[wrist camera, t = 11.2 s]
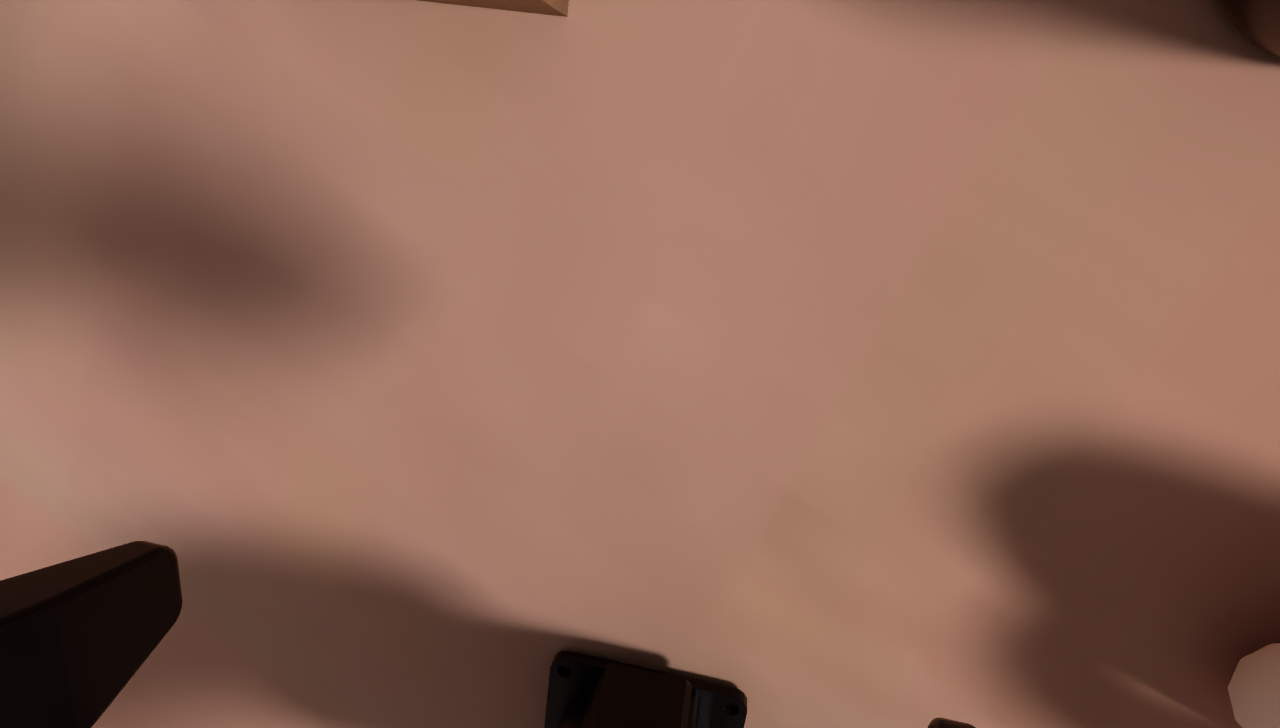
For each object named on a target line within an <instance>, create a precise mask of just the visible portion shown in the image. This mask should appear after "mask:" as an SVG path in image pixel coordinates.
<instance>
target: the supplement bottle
mask: <svg viewBox="0 0 1280 728" xmlns="http://www.w3.org/2000/svg"><path fill="white" fill-rule="evenodd" d="M1219 1H1220V3H1221V5H1222V7H1223V8H1224V10H1225V12H1226V13H1227V15H1228V16H1229V18H1230V19H1231V20H1232V21H1233V23H1234V24H1235V25H1236V26H1237V28H1238V29H1239V30H1240V31H1241V32H1242V33H1244V34H1245V35H1246V36H1247V37H1248V38H1249V39H1250V40H1251V41H1253V42H1254V43H1256V44H1257V45H1258V46H1260V47H1261V48H1263V49H1265V50H1267V51H1268V52H1270V53H1272V54H1274V55H1276V56H1278V57H1280V0H1219Z"/></svg>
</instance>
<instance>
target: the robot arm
mask: <svg viewBox="0 0 1280 728" xmlns="http://www.w3.org/2000/svg"><path fill="white" fill-rule="evenodd" d="M181 608H182V592H181V584H180V576H179V568H178V560H177V555H176V553H175V552H174V551H173V549H171V548H170V547H168V546H164V545H159V544H155V543H150V542H146V541H135V542H131V543H128V544H124V545H121V546H117V547H114V548H111V549H107V550H104V551H100V552H97V553H93V554H90V555H87V556H83V557H80V558H76V559H73V560H70V561H66V562H63V563H59V564H56V565H53V566H49V567H46V568H42V569H39V570H36V571H32V572H29V573H25V574H22V575H18V576H15V577H12V578H8V579H5V580H1V581H0V728H91V727H92V726H93V725H94V724H95V722H96V721H97V720H98V719H99V718H100V716H101V715H102V714H103V713H104V711H105V710H106V709H107V708H108V706H109V705H110V704H111V702H112V701H113V700H114V699H115V697H116V696H117V695H118V694H119V692H120V691H121V690H122V689H123V687H124V686H125V685H126V684H127V682H128V681H129V680H130V679H131V677H132V676H133V675H134V674H135V672H136V671H137V670H138V669H139V667H140V666H141V665H142V664H143V662H144V661H145V660H146V659H147V657H148V656H149V655H150V654H151V652H152V651H153V650H154V649H155V647H156V646H157V645H158V644H159V642H160V641H161V640H162V639H163V637H164V636H165V635H166V634H167V632H168V631H169V630H170V629H171V627H172V626H173V625H174V623H175V622H176V620H177V618H178V616H179V614H180V611H181ZM562 665H566V666H568V667H570V668H571V669H567V668H564V667H563V666H562ZM727 703H733V704H736V706H729V705H727ZM746 715H747V698H746V696H745V694H744V693H743V692H742V691H741V690H739V689H736V688H733V687H729V686H724V685H720V684H715V683H711V682H706V681H702V680H697V679H693V678H688V677H684V676H679V675H675V674H671V673H666V672H662V671H657V670H653V669H648V668H644V667H639V666H635V665H630V664H626V663H621V662H617V661H613V660H608V659H604V658H599V657H595V656H590V655H586V654H581V653H577V652H572V651H561V652H558V653H557V654H556V655H555V657H554V660H553V662H552V665H551V668H550V676H549V687H548V697H547V707H546V718H545V728H744V724H745V719H746ZM928 728H975V727H974V726H972V725H970V724H967V723H963V722H958V721H954V720H949V719H945V718H935V719H933V720H932V721H931V722H930V724H929V726H928Z"/></svg>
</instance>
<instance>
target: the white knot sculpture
mask: <svg viewBox="0 0 1280 728" xmlns="http://www.w3.org/2000/svg"><path fill="white" fill-rule="evenodd" d="M1227 689H1228V693H1229V697H1230V701H1231V705H1232V709H1233V713H1234V717H1235V720H1236V721H1237V722H1238V724H1239V725H1240V726H1241V727H1242V728H1280V643H1275V644H1269V645H1267V646H1265V647H1263V648H1261V649H1259V650H1257V651H1255V652H1253V653H1251V654H1249V655H1247V656H1245V657H1243V658H1241V659H1240V661H1239V663H1238V665H1237V667H1236V669H1235V672H1234V674H1233V676H1232V678H1231V681H1230V683H1229V685H1228V687H1227Z"/></svg>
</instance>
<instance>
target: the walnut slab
mask: <svg viewBox="0 0 1280 728" xmlns="http://www.w3.org/2000/svg"><path fill="white" fill-rule="evenodd" d="M419 1H428V2H437V3H446V4H455V5H465V6H474V7H483V8H492V9H501V10H510V11H519V12H528V13H538V14H547V15H556V16H565V17H567V15H568V2H569V0H419Z"/></svg>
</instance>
